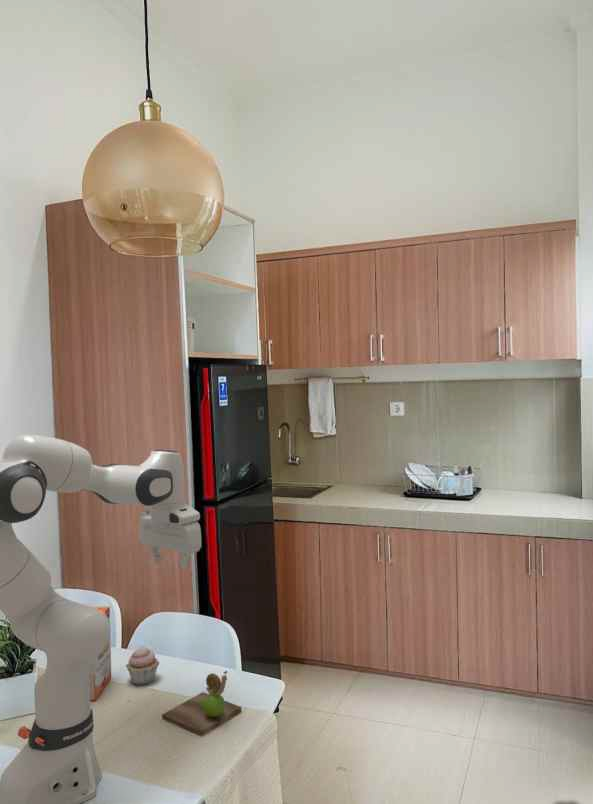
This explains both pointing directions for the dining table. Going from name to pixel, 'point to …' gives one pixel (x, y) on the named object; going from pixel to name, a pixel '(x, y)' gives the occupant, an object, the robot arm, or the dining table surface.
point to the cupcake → (142, 666)
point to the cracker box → (101, 664)
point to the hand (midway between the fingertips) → (170, 565)
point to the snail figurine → (214, 695)
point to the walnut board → (199, 715)
